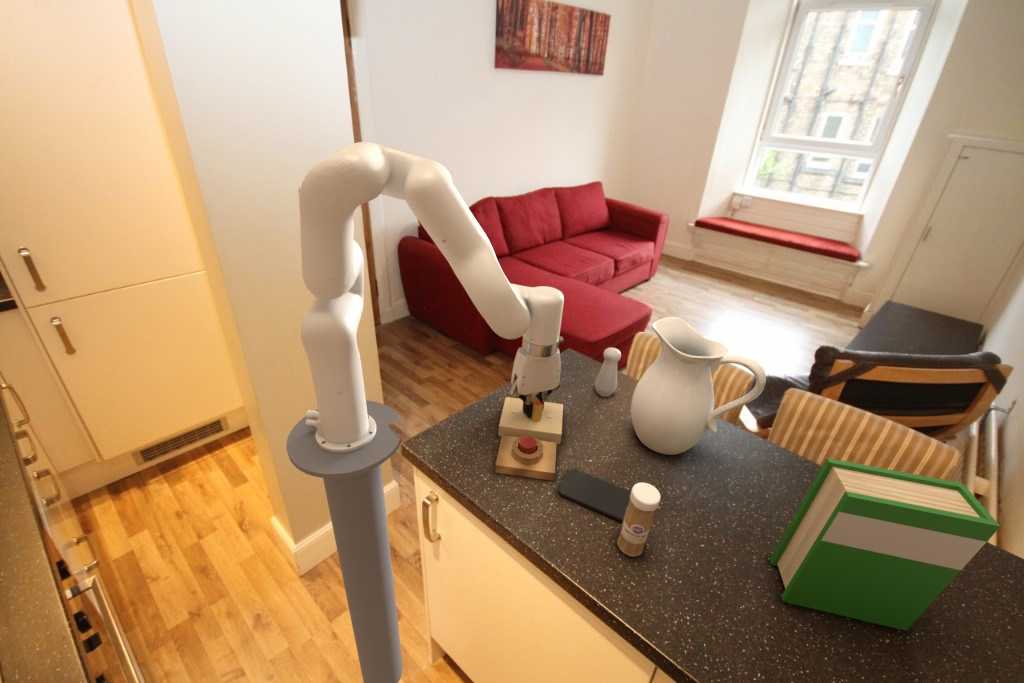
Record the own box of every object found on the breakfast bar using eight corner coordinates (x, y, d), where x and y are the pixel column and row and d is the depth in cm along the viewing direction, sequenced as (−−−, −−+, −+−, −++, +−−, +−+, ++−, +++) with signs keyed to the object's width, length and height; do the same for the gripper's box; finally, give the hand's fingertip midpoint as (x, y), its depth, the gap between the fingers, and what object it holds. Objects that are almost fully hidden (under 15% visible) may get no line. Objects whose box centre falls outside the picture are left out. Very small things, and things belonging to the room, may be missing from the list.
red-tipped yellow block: (523, 408, 105) (525, 391, 103) (530, 406, 106) (532, 390, 103) (533, 422, 101) (535, 405, 98) (540, 420, 101) (543, 404, 99)
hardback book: (783, 601, 71) (848, 496, 59) (770, 560, 77) (826, 457, 66) (906, 630, 68) (1000, 526, 56) (882, 585, 75) (962, 483, 63)
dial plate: (498, 436, 100) (498, 425, 99) (504, 406, 110) (505, 396, 108) (560, 444, 99) (561, 433, 98) (561, 414, 109) (563, 403, 107)
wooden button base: (494, 472, 91) (495, 458, 89) (501, 442, 99) (502, 428, 97) (553, 481, 90) (555, 466, 88) (555, 450, 98) (557, 436, 96)
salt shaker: (592, 396, 116) (600, 353, 110) (593, 384, 121) (601, 342, 115) (614, 400, 115) (624, 358, 109) (615, 388, 120) (624, 346, 114)
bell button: (518, 453, 91) (518, 446, 90) (519, 441, 94) (520, 434, 93) (535, 455, 91) (536, 449, 90) (536, 443, 94) (537, 437, 93)
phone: (570, 467, 92) (642, 496, 87) (569, 470, 93) (641, 499, 87) (556, 491, 86) (633, 524, 81) (556, 494, 87) (632, 527, 81)
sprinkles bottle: (619, 557, 76) (635, 502, 69) (614, 534, 80) (629, 480, 73) (646, 558, 76) (664, 504, 69) (639, 535, 80) (656, 481, 73)
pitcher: (610, 433, 104) (634, 328, 90) (650, 406, 114) (677, 308, 100) (705, 497, 89) (752, 382, 75) (742, 460, 99) (789, 353, 85)
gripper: (564, 331, 100) (555, 398, 109) (498, 341, 94) (494, 410, 103) (581, 348, 94) (570, 416, 103) (512, 359, 88) (506, 431, 97)
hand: (532, 413), depth 103 cm, fingers closed on red-tipped yellow block, 2 cm apart
